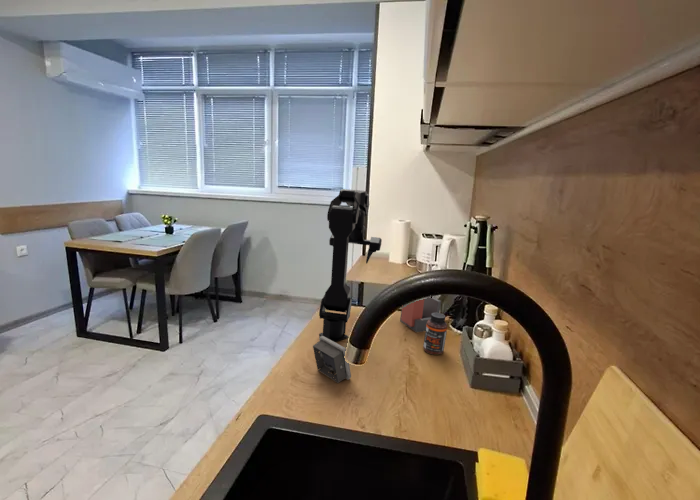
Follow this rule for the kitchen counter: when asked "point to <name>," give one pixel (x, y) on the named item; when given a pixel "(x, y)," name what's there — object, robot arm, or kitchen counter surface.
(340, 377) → the electrical switch
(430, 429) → the kitchen counter surface
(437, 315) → the supplement bottle
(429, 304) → the housing
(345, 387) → the kitchen counter surface
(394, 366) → the kitchen counter surface
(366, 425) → the kitchen counter surface
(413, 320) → the pink block with dome
